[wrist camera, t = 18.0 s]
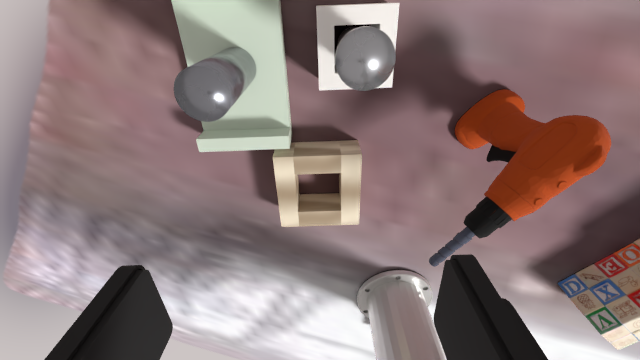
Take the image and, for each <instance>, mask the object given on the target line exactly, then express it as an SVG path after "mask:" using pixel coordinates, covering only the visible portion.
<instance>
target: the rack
mask: <svg viewBox="0 0 640 360" xmlns="http://www.w3.org/2000/svg"><path fill="white" fill-rule="evenodd" d="M171 1H172V5H173V9H174V13H175V17H176V21H177V25H178V29H179V34H180V38H181V42H182V46H183V50H184V54H185V58H186V62H187V66H188V67H189V66H191V65H193V64H195V63H198V62H200V61H202V60H204V59H206V58H208V57H210V56H212V55H214V54H216V53H218V52H220V51H222V50H225V49H227V48H229V47H239V48H242V49H244V50H246V51H247V52H248V53H249V54H250V55H251V56H252V57H253V59H254V61H255V64H256V75H255V78H254V80H253V81H252V83H251V84H250V85H249V86H248V87H247V89H246V90H245V91H244V92H243V93H242V95H241V96H240V97H239V98H238V100H237V101H236V102H235V103H234V104H233V106H232V107H231V108H230V109H229V110H228V112H227V113H226V114H225V115H224V116H223V117H222V118H220V119H218V120H216V121H211V122H204V121H201V122H202V126H203V130H204V131H203V132H202V133H201V134H200V135H199V137H198V138H197V139H196V141H197V145H198V149H199V152H211V151H240V150H268V149H290V144H291V139H292V127H291V116H290V104H289V93H288V82H287V70H286V59H285V47H284V36H283V25H282V13H281V2H280V0H171Z"/></svg>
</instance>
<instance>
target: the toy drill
mask: <svg viewBox="0 0 640 360" xmlns="http://www.w3.org/2000/svg"><path fill="white" fill-rule="evenodd" d="M524 109H525V105H524V101H523V100H522V98H521V97H520V96H518V95H517V94H516V93H514V92H512V91H510V90H506V89H502V90H497V91H495V92H493V93H491V94H489V95H488V96H486V97H484V98H483V99H482V100H480V101H479V102H477V103H476V104H475V105H474V106H472V107H471V108H470V109H469V110H468V111H467V112H466V113H465V114H464V115H463V116H462V117H461V118H460V119H459V121H458V122H457V124H456V126H455V135H456V137H457V139H458V141H459V142H460V143H461V144H462V145H463V146H465V147H467V148H469V149H475V148H479V147H481V146H483V145H485V144H487V143H488V142H489V143H491V144H492V146H491V149H490V151H489V153H488V156H487V161H488V162H490V161H498V160H500V161H505V162H508V164H507V165H506V167H505V168H504V169H503V170H502V172H501V173H500V174H499V175H498V176H497V177H496V179H495V180H494V181H493V183H492V184H491V185H490V187H489V189H488V191H487V192H486V193H485V194H484V195H485V196H486V197H485V198H484V199H483V200H482V201H481V202H480V203H479V204H478V205H477V206H476V208H475V209H474V210H473V211H472V212H471V213H469V214H468V215H467V216H466V218H465V221H464V224H465V225H466V226H467V227H466V228H465V229H464V230H462V231H461V232H460V233H458V234H457V235H456V236H455V237H454V238H453V240H451V241H450V242H448V243H447V244H446V245H445V247H443V248H441V249H440V250H439V251H438V253H435V254H434V255H433V256H432V257H431V258H430V259H429V263H430V264H431V265H432V266H437V265H439V263H441V262H442V261H444V260H445V259H446V258H447V256H450V255H451V254H452V253H453V252H455V250H457V249H459V248H460V247H462V246H463V245H464V244H466V243H467V242H468V241H470V240H471V239H472V237H473V236H475V235H476V236H477V237H478V238H483V237H487V236H488V235H490V234H491V233H492V232H493V231H495V230H496V229H497V228H501V227H502V226H504V225H505V224H506V223H508V222H509V221H510V220H511V219H512V220H513V221H515V220H517V219H518V218H520V217H523V216H525V215H528V214H530V213H533V212H534V211H536V210H537V209H539V208H540V207H542V206H543V205H544V204H545V203H546V202H547V201H548V200H549V199H551V198H552V197H554V196H556V195H558V194H559V193H561V192H562V191H564V190H565V189H567V188H568V187H569V186H571V185H572V184H574V183H575V182H576V181H578V180H579V179H580V178H582V177H583V176H586V175H589V174H591V173H593V172H594V171H595V170H597V169H598V168H599V167H600V166H602V164H603V163H604V162H605V160H606V157H607V154H608V152H609V150H610V146H611V139H610V135H609V133H608V131H607V129H606V127H605V126H604V125H603V124H602V123H600V122H599V121H598V120H596V119H594V118H590V117H587V116H579V115H572V116H563V117H559V118H555V119H553V120H551V121H550V122H548V123H546V124H545V123H541V122H538V121H536V120H533V119H530V118H529V117H527V116H526V115H525V114H524V113H523V112H524Z"/></svg>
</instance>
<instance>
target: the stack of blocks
mask: <svg viewBox="0 0 640 360" xmlns="http://www.w3.org/2000/svg"><path fill="white" fill-rule="evenodd" d="M558 285H559V286H560V287H561V289H562V290H563V291H564V292H565V293H566V295H567V296H568V297H569V298H570V300H571V301H572V302H573V303H574V304H575V305H576V307H577V308H578V309H579V310H580V311H581V312H582V314H583V315H584V316H585V317H586V318H587V319H588V320H589V321H590V323H591V324H592V325H593V326H594V327H595V328H596V330H597V331H598V332H599V333H600V334H601V335H602V336H603V337H604V338H605V339H606V340H607V341H608V342H610V343H611V344H612V345H613V346H614V347H615V348H616V349H618V350H620V349H622V348H624V347H627V346H629V345H631V344H634V343H636V342H638V341H640V239H638V240H636V241H634V242H633V243H631V244H629V245H628V246H626V247H624V248H622V249H620V250H619V251H617V252H615V253H613V254H611V255H609V256H608V257H606V258H604V259H602V260H600V261H598V262H596V263H595V264H592V265H590V266H589V267H587V268H585V269H583V270H581V271H579V272H577V273H576V274H573V275H571V276H570V277H568V278H566V279H564V280H562V281H560V282H559V283H558Z"/></svg>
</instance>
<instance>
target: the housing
mask: <svg viewBox="0 0 640 360" xmlns="http://www.w3.org/2000/svg"><path fill="white" fill-rule="evenodd" d="M316 14H317V42H318V70H319V90H340V89H352V88H350V87H349V86H347V85H346V84H345V83H344V82H343V81H342V80H341V78H340V77H339V75H338V72H337V69H336V65H335V57H334V26H336V25H361V24H371V27H375V28H377V29H379V30H381V31H383V32H384V33H386V34H387V35H388V36H389V38H390V39H391V41H392V42H393V45H394V48H396V37H397V25H398V14H399V3H367V4H342V5H318V6H316ZM393 71H394V68H393ZM393 71H392V73H391V75H390V76H389V78H388V79H387V80H386V81H385V82H384V83H383V84H382V85H380V86H379V87H377V88H392V83H393Z"/></svg>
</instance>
